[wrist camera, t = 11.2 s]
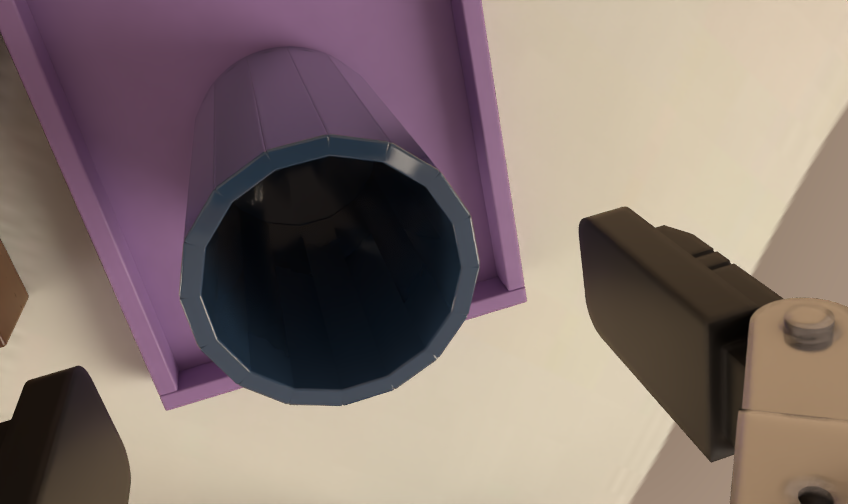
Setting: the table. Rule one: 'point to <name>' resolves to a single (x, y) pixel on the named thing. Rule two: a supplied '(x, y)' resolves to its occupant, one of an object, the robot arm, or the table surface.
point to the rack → (9, 296)
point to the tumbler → (318, 235)
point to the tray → (175, 118)
